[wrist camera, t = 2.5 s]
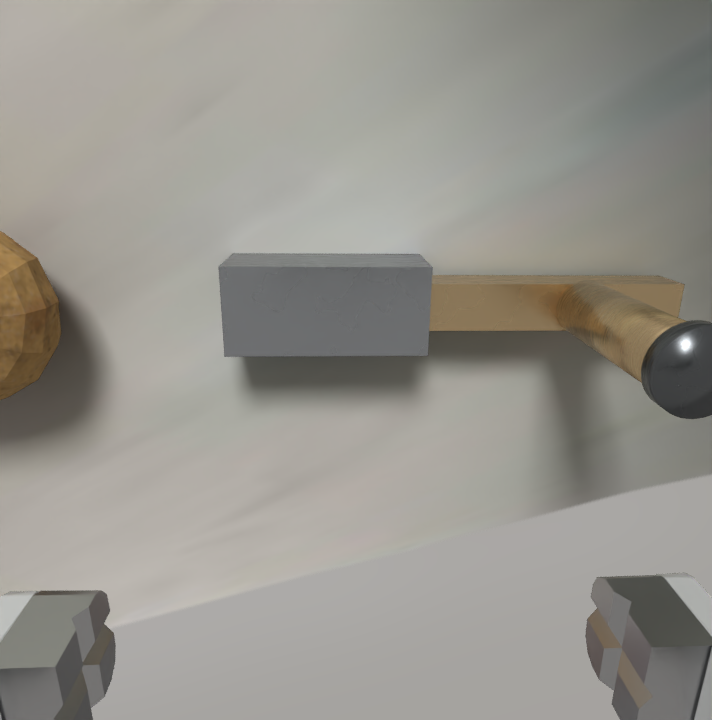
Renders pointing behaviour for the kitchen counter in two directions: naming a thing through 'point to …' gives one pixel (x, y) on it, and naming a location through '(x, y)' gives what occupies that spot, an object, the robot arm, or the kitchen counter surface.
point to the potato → (24, 318)
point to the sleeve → (325, 304)
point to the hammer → (594, 325)
